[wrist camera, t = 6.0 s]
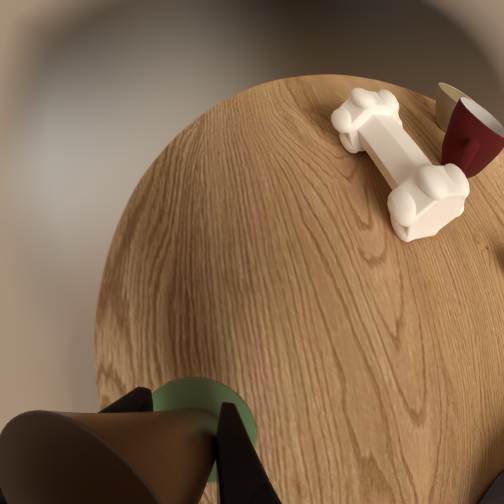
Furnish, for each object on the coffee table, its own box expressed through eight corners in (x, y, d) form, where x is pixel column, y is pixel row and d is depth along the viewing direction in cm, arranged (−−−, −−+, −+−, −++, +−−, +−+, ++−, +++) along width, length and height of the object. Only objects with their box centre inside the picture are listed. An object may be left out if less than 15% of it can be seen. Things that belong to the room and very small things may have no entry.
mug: (472, 213, 26) (516, 158, 17) (423, 176, 28) (460, 113, 19) (473, 172, 30) (504, 125, 22) (432, 142, 32) (459, 90, 24)
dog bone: (443, 238, 23) (488, 186, 16) (382, 252, 22) (429, 190, 15) (379, 140, 31) (400, 88, 24) (319, 140, 29) (335, 79, 22)
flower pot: (459, 125, 38) (474, 98, 32) (477, 156, 33) (495, 126, 27) (419, 106, 39) (431, 75, 33) (433, 134, 34) (450, 100, 28)
